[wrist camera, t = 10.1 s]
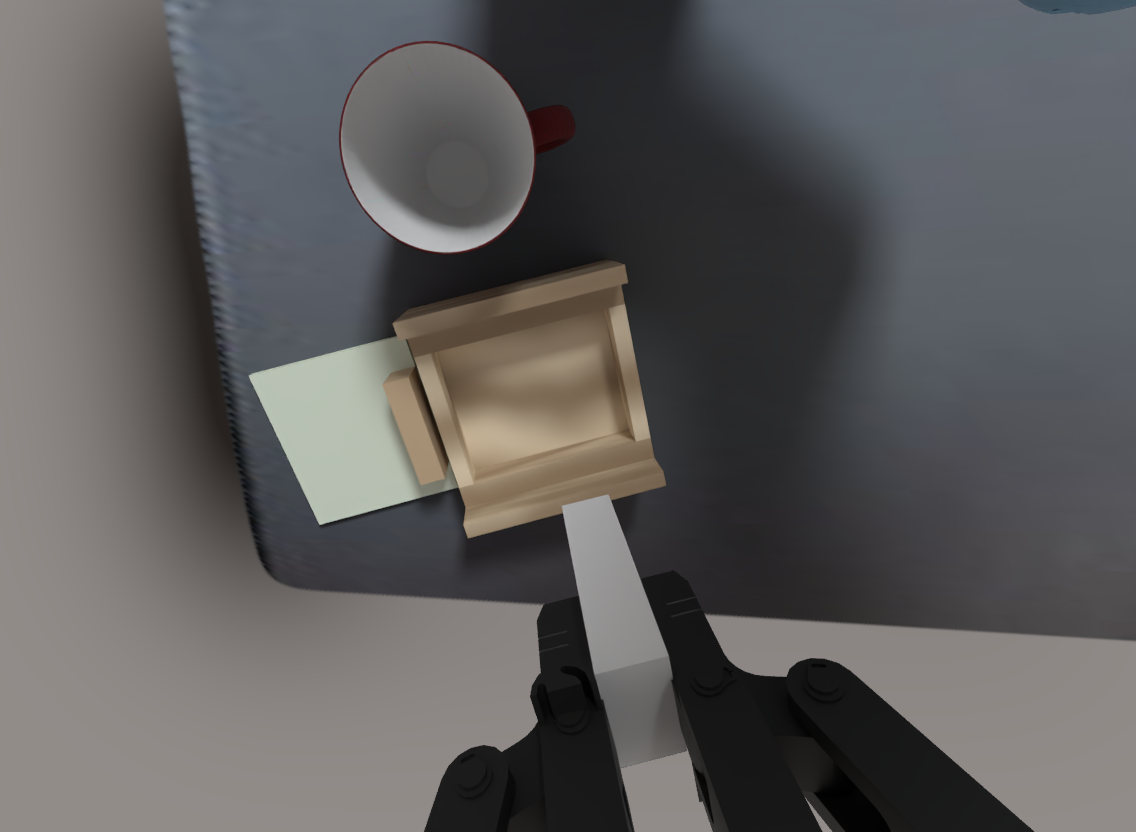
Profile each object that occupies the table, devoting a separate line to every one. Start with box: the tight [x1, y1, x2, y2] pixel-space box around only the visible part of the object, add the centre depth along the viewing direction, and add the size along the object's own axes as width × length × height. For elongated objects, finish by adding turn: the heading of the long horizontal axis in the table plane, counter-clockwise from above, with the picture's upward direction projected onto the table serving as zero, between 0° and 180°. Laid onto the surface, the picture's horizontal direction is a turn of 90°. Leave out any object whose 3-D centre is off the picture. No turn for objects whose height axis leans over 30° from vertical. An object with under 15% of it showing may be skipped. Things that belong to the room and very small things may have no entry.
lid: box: [249, 336, 458, 525], centre depth 35 cm, size 11×10×4 cm
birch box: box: [393, 259, 666, 538], centre depth 34 cm, size 14×13×5 cm
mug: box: [339, 41, 575, 255], centre depth 27 cm, size 10×8×10 cm
